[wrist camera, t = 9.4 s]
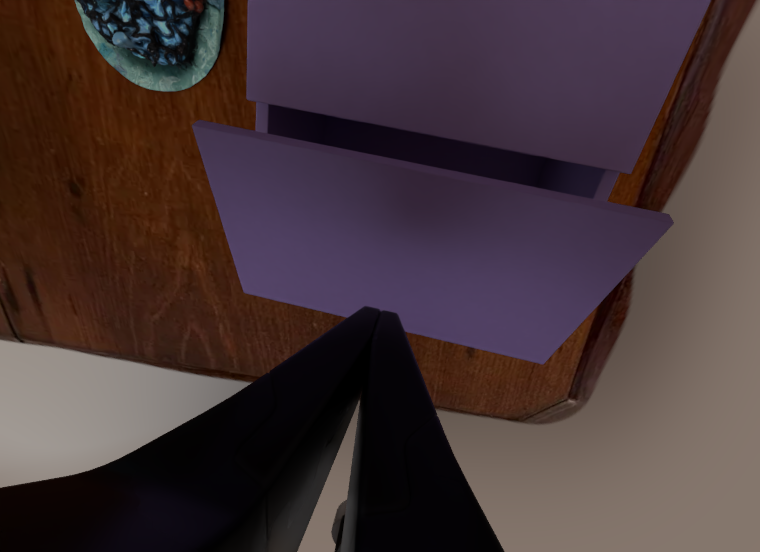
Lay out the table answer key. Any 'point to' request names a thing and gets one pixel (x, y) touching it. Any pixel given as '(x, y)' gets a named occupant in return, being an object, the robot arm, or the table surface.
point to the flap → (418, 241)
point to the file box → (473, 81)
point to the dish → (156, 38)
